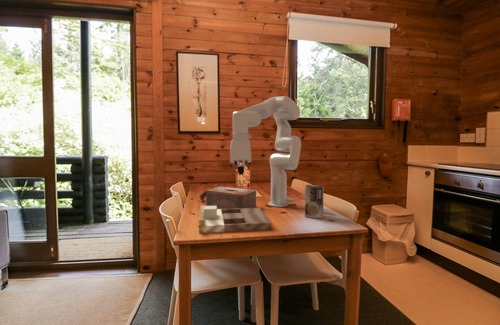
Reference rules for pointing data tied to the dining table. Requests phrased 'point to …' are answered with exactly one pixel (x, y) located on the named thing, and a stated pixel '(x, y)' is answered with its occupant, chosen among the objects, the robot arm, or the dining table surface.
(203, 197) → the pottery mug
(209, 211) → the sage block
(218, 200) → the tissue box cover
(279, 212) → the dining table surface
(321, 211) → the coffee box
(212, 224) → the box
